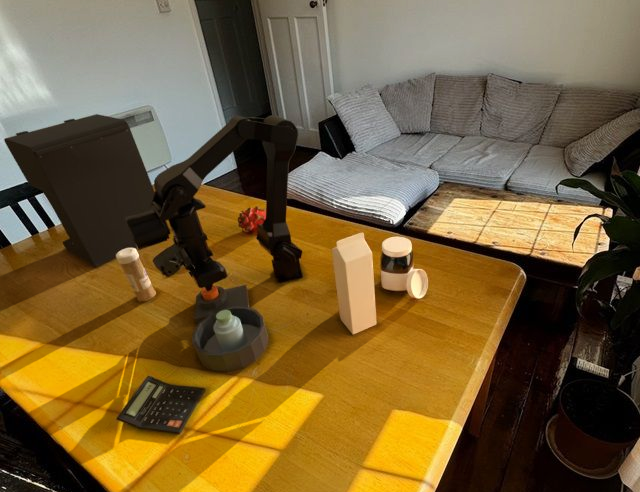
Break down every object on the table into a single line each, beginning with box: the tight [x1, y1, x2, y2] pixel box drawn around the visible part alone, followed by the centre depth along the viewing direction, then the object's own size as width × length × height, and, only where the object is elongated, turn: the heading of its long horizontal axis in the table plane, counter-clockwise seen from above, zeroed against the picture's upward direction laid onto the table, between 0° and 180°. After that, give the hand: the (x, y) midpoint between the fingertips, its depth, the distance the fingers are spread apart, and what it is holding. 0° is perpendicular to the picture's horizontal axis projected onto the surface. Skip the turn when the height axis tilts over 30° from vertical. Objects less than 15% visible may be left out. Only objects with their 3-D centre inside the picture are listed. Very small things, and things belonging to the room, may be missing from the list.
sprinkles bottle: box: [115, 248, 157, 302], centre depth 101 cm, size 5×5×14 cm
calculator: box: [115, 374, 206, 435], centre depth 75 cm, size 9×12×3 cm
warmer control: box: [194, 284, 251, 326], centre depth 97 cm, size 12×9×4 cm
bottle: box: [214, 310, 247, 353], centre depth 85 cm, size 5×5×9 cm
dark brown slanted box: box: [3, 113, 168, 269], centre depth 121 cm, size 28×20×35 cm
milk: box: [331, 232, 377, 336], centre depth 85 cm, size 6×6×22 cm
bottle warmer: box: [191, 306, 269, 373], centre depth 86 cm, size 14×14×5 cm
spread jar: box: [379, 236, 429, 299], centre depth 97 cm, size 12×11×12 cm
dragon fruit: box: [237, 205, 266, 234], centre depth 127 cm, size 8×8×12 cm
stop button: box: [200, 284, 219, 300], centre depth 96 cm, size 4×4×2 cm
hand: (209, 289), depth 96 cm, fingers closed, pressing on stop button
